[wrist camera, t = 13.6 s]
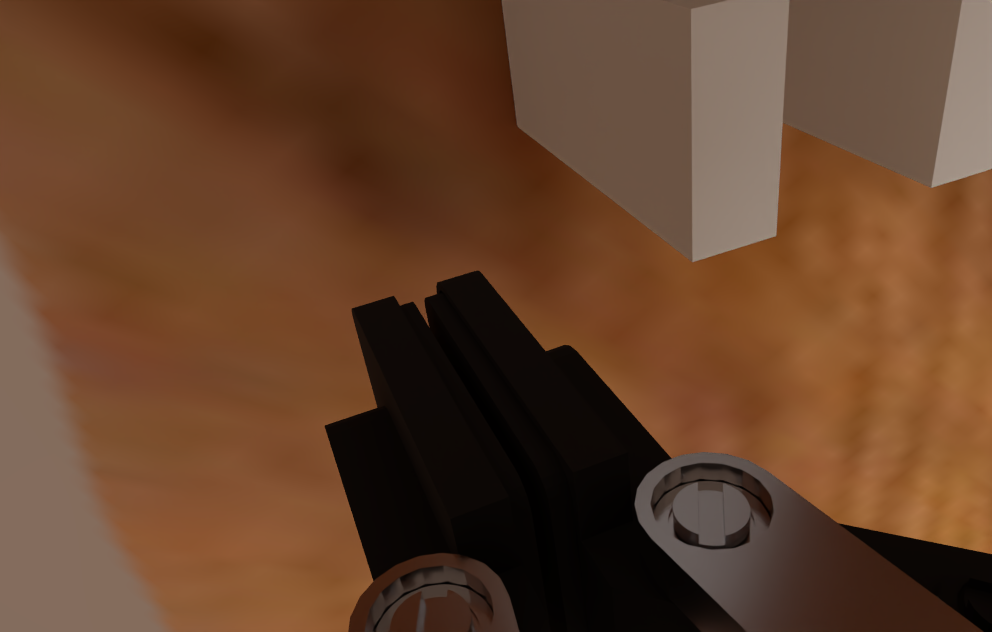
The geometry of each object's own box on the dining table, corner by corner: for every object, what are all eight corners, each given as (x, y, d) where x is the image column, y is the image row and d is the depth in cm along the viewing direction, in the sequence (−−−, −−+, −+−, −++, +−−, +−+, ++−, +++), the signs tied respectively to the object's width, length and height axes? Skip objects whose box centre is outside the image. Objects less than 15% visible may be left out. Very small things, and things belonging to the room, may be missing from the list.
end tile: (562, -64, 23) (789, -15, 14) (576, 111, 25) (776, 236, 17) (495, -50, 22) (690, 9, 14) (516, 126, 25) (692, 262, 17)
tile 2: (749, -102, 24) (1054, -76, 16) (744, 68, 27) (1003, 165, 18) (689, -90, 24) (971, -57, 15) (690, 82, 26) (931, 187, 18)
